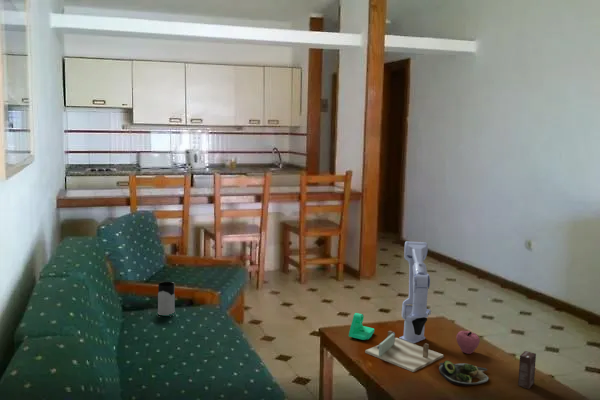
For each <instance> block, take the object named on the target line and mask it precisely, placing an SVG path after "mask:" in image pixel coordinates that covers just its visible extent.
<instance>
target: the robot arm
mask: <svg viewBox="0 0 600 400" xmlns="http://www.w3.org/2000/svg"><path fill="white" fill-rule="evenodd" d="M403 248H404V249H403V250H404V251H403V252H404V254H403V256H404V260H405V261H407V263H408V266H409V267H408V273H409V274H408V298H406V299H405V300H403V301H402V304H401V305H402V306H401V318H402V319H403V320H404V322H403V323H404V324H403V335H402V336H399V339H402V340H404V341H407V342H410V343H413V344H416V343H419V342H420V341H423V340H425V339H426V337H427V336H425V328H426V327H425V324H426V323H427V321H428V318H429V316H430V315H431V313H432V310H431V309H428V294H429V289H430V288H431V287H430V286H431V277H430V274H429V273H428V268H427V264H426V263H424V262H425V259H427V255H428V250H429V248H428V243H427V242H426V241H408V240H406V241H405V242H404V247H403Z"/></svg>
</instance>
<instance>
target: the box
mask: <svg viewBox="0 0 600 400" xmlns="http://www.w3.org/2000/svg"><path fill="white" fill-rule="evenodd" d="M536 357H537V353H535V352H531V351H527V350H524V351H523V352H522V353H521V354H520V355H519V367H518V368H519V369H518V383H517V386H518V387H522V388H525V389H531V387H533V385H534V384H535V374H536V359H537V358H536Z"/></svg>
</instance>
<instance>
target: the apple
mask: <svg viewBox="0 0 600 400" xmlns="http://www.w3.org/2000/svg"><path fill="white" fill-rule="evenodd" d="M456 342H457V345H458V347H459V348H460V351H461V352H462V353H465V354H469V355H471V354H473V353H474V351H475V350H476V349H477V348H478V346H479V344H480V337H479V336H478V335H477V333H475V332H472V331H470V330H460V331H458V332H457V334H456Z"/></svg>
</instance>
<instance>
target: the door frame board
mask: <svg viewBox="0 0 600 400" xmlns="http://www.w3.org/2000/svg"><path fill="white" fill-rule="evenodd" d="M393 332H394V331H392V330H388V331H387V337H388V336H390V335H391V334H392V333H393ZM378 345H379V344H378ZM378 345H375V346H373V347H370V348H368V349H365V351H364V353H365V354H367V355H370V356H373V357H375V358H377V359H380V360H382V361H385V362H387V363H389V364H392V365H394V366H397V367H399V368H402V369H405V370H407V371H410V372H411V373H414V372H416V371H418V370H420V369H422V368H424V367H427V366H429V365H430V364H432V363H434V362H436V361H439V360H441V359H443V358H444V357H445V356H444V354H442V353H440V352H437V351H434V350H431V349H429V348H430V347H429V346H430V345H429V343H427V342H426V343H423V346H421V345H418V344H416V343H411V342H408V341H405V340H403V339H400V338H398V337H395V342H394V345H393V346H392V347H391V348H390V349H389V350H387V351H386V352H385V353H384V354H383V355H382V356H379V349H377V347H378Z"/></svg>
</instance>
